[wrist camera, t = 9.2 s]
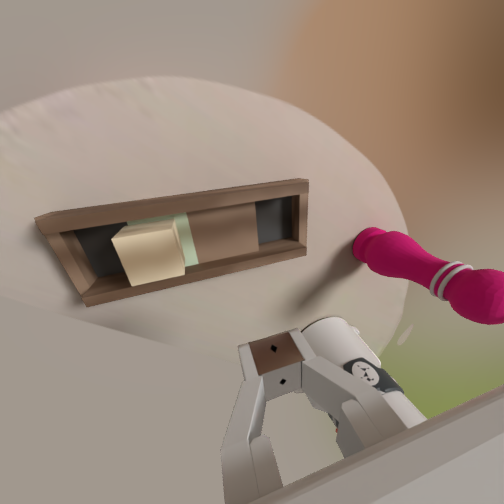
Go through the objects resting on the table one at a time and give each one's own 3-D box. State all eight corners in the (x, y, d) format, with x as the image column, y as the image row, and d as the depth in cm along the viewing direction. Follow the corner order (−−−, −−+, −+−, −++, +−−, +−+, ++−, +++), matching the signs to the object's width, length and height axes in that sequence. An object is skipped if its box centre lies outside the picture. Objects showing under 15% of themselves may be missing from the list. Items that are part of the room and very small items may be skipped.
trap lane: (297, 241, 30) (314, 253, 26) (92, 286, 24) (73, 310, 20) (298, 178, 26) (318, 180, 22) (50, 212, 20) (17, 223, 16)
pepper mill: (389, 226, 35) (592, 288, 17) (373, 262, 37) (535, 348, 20) (358, 222, 32) (558, 290, 15) (344, 261, 35) (499, 357, 18)
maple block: (185, 258, 24) (184, 274, 20) (140, 267, 22) (131, 286, 19) (174, 218, 21) (171, 228, 18) (124, 226, 20) (111, 239, 17)
